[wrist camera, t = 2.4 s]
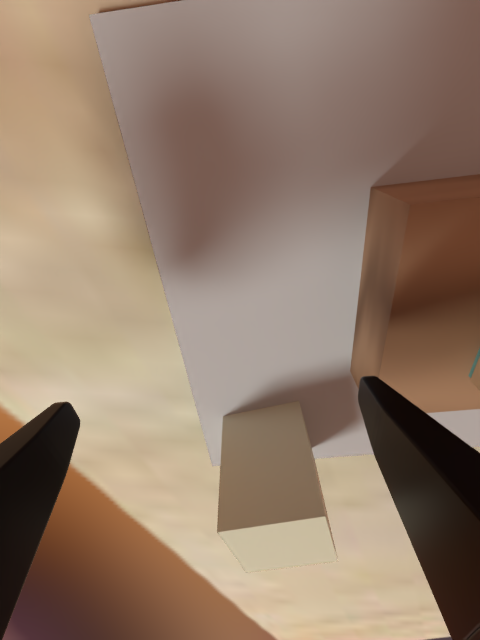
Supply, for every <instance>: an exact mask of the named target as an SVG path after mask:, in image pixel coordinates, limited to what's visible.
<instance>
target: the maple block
mask: <svg viewBox="0 0 480 640" xmlns="http://www.w3.org/2000/svg"><path fill="white" fill-rule="evenodd" d="M469 377H470V378H471V379H470V381H471V382H472V383H473V384H474V386H475V387H476V388H477V389H478V390H479V391H480V348H479V350H478V353H477V355H476V358H475V361H474V363H473V366H472V368H471V371H470V373H469Z"/></svg>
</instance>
